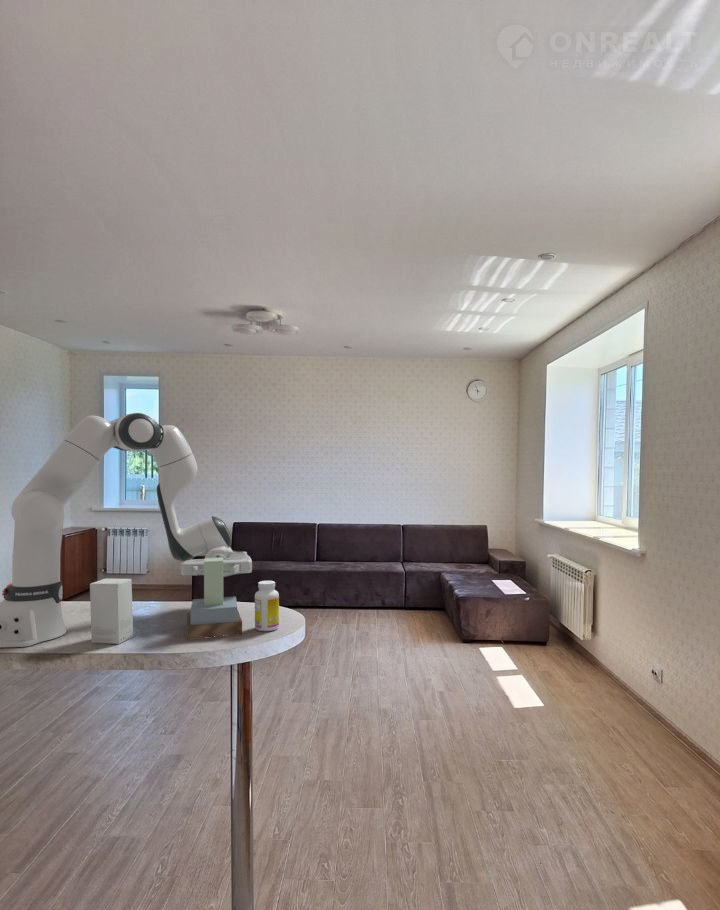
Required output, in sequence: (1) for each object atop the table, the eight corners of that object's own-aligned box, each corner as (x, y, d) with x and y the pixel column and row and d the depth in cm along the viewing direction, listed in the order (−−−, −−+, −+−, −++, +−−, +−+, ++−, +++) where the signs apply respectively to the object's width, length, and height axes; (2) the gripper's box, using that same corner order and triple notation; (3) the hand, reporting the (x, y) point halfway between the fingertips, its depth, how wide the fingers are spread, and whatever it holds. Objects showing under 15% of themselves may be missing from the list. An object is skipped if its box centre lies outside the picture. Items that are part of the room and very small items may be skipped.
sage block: (204, 605, 145) (204, 561, 146) (204, 601, 150) (204, 558, 150) (223, 604, 147) (223, 560, 147) (223, 599, 151) (223, 557, 152)
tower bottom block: (187, 642, 140) (187, 626, 140) (187, 627, 153) (187, 613, 153) (242, 636, 144) (242, 621, 144) (237, 622, 157) (237, 608, 157)
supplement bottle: (281, 625, 152) (281, 579, 152) (275, 632, 145) (275, 585, 146) (258, 624, 153) (258, 579, 153) (251, 631, 146) (251, 584, 146)
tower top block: (190, 625, 141) (190, 610, 141) (192, 613, 153) (192, 599, 153) (237, 621, 144) (237, 606, 144) (235, 610, 156) (235, 596, 156)
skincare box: (133, 637, 142) (134, 578, 142) (117, 645, 135) (117, 583, 136) (106, 635, 144) (106, 577, 144) (88, 643, 137) (89, 582, 138)
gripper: (183, 554, 162) (176, 562, 149) (251, 551, 166) (251, 558, 153) (183, 574, 162) (176, 584, 149) (251, 571, 166) (251, 581, 153)
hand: (215, 571), depth 151 cm, fingers open, 8 cm apart
